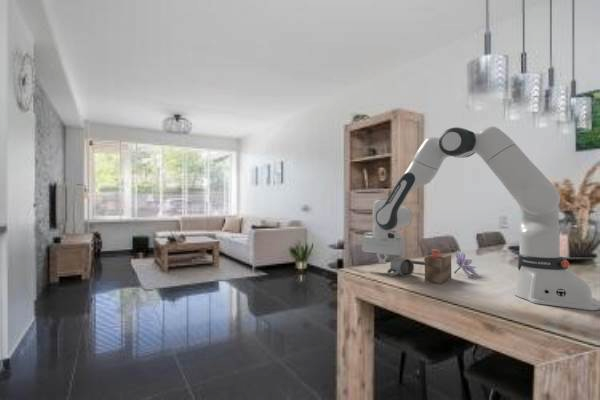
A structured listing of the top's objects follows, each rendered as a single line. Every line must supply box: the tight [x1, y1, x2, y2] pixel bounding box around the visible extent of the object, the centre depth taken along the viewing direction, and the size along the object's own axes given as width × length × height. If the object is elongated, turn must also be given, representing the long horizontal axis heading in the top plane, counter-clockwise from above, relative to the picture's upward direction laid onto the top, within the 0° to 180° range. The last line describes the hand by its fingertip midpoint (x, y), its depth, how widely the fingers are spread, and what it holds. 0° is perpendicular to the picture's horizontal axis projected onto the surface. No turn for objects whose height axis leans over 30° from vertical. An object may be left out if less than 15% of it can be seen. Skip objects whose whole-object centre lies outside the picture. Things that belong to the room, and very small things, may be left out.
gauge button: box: [430, 248, 441, 258], centre depth 132 cm, size 3×3×6 cm
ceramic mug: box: [386, 257, 415, 277], centre depth 145 cm, size 11×8×8 cm
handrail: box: [410, 259, 425, 266], centre depth 149 cm, size 19×2×5 cm, turn 48°
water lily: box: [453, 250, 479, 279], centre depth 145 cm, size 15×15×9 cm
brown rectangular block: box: [423, 253, 452, 286], centre depth 134 cm, size 6×14×10 cm, turn 138°
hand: (382, 263), depth 151 cm, fingers closed
